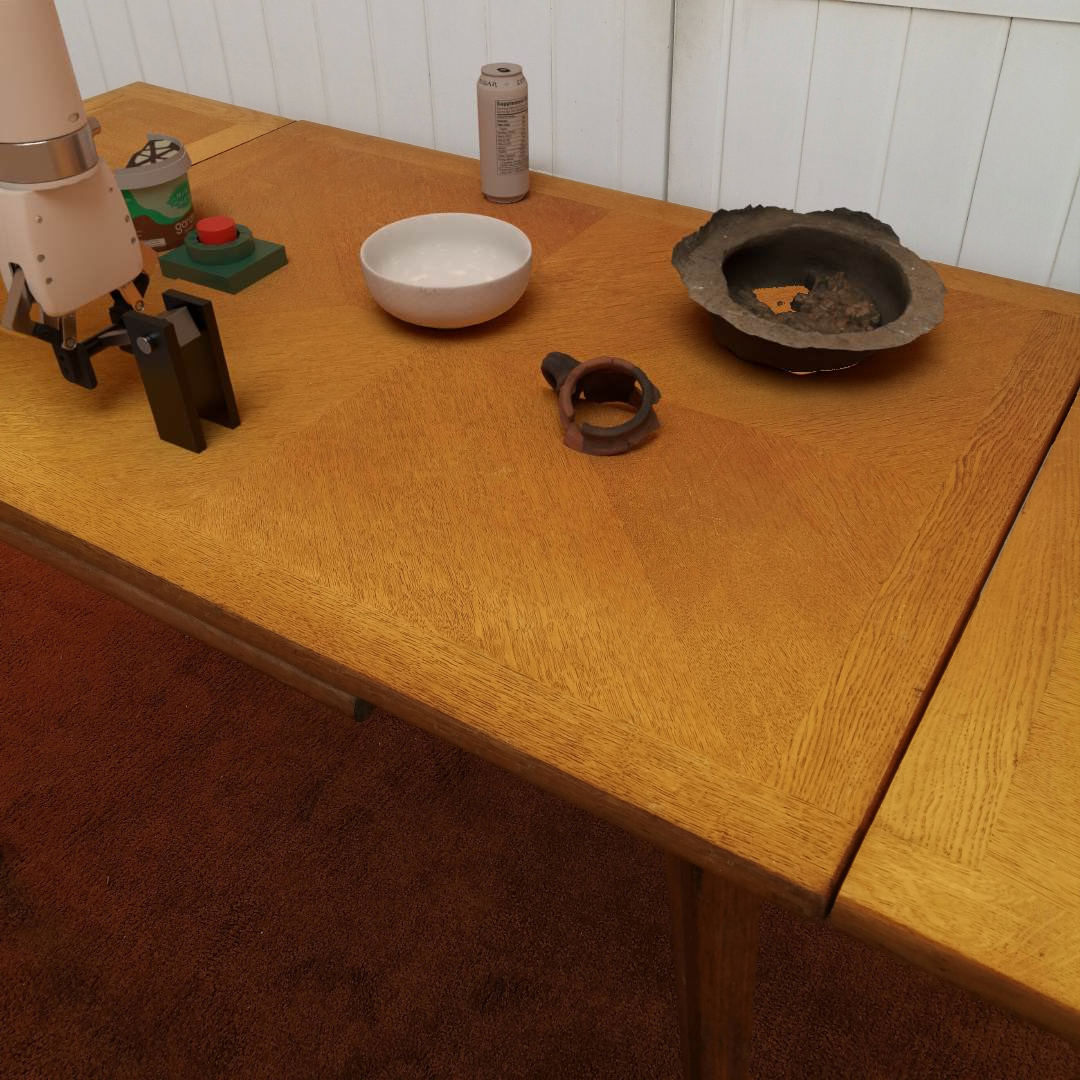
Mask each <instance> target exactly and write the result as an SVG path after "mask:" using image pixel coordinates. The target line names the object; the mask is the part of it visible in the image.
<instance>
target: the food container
mask: <svg viewBox="0 0 1080 1080" xmlns="http://www.w3.org/2000/svg"><path fill="white" fill-rule="evenodd" d="M145 136H146V141H147V142H146V144H145V145H144V146H143V148H141V149H140V150H138V151H137V152H135V153H133V154H132V156H131V157H130V158H129V161H128V162H127V164H126V166H125V167H124V168H112V173H113V176H114V178H115V180H116V182H117V184H118V186H119V188H120V191H121V193H122V195H123V198H124V200H125V203H126V205H127V208H128V210H129V213H130V216H131V219H132V222H133V225H134V228H135V231H136V234H137V238H138V239H139V240H141V241H142V242H143V243H145V244H146V245H148V246H149V247H150V248H152V249H153V250H154V251H156V252H157V253H163V252H169V251H172V250H174V249H176V248H178V247H180V246H182V245H184V244H185V242H184V239H185V237H186V236H187V234H188V233H189V232H191V231H193V230H195V229H197V228H196V224H197V222H196V217H195V216H196V215H195V210H194V204H193V199H192V193H191V192H192V191H191V186H190V180H189V173H188V171H190V169H191V168H192V164H193V162H192V160H191V157H190V155H189V153H188V151H187V149H186V147H185V146H184V145H183V143H182V141H181V140H180V139H179V138H177V137H175V136H172V135H168V134H163V133H153V132H152V133H151V132H149V133H148V132H146V133H145Z"/></svg>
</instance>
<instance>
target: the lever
mask: <svg viewBox="0 0 1080 1080" xmlns="http://www.w3.org/2000/svg"><path fill="white" fill-rule="evenodd" d="M153 317H156V318H159V319H162V320H166V321H169V322H172V323H173V324H174V328H175V332H176V335H177V339H178V343H179V346H180V347H182V346H184V345H185V344H187V343H189V342H190V341H192V340H194V339H195V338H197V337H199V336H200V335H201V334H200V332H199V330H198V328H197V326H196V324H195V322H194V320H193V318H192V316H191V315H190V313H189V311H188V309H187V307H181V308H176V309H171V310H166V309H164V310H163V311H162V312H160V313H158V314H156V315H154V316H153ZM78 343H80V344H83V345H85V347H86V348H87V351H88V354H89V357H90V359H91V358H93V357H95V356H96V355H98V354H100V353H102V352H103V351H105V350H108V349H109V348H114V347H119V346H121V345H127V344H131V342H130V339H129V336H128V333H127V329H126V326H125V323H124V321H121V320H120V321H118V322H116V323H114V324H112V323H111V325H109V326H107V327H105V328H104V329H101V330H100V331H98V332H96V333H95V334H93V335H92V334H91V336H88V337H87V338H84V339H83V340H82V341H79V342H78Z"/></svg>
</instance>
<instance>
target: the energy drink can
mask: <svg viewBox="0 0 1080 1080" xmlns="http://www.w3.org/2000/svg"><path fill="white" fill-rule="evenodd" d="M480 72H481V73H480V75H479V77H478V80H477V82H476V102H477V103H476V104H477V105H476V106H477V124H478V126H477V127H478V144H479V145H478V146H479V169H480V186H481V187H480V189H481V192H483V193H484V195H485V198H486V197H487V198H486V199H487V200H488V201H490V202H492V203H496V202H497V204H511V202H513V203H517V202H519V201H518V200H520V201H522V200H523V199H524V198H525V197H526V193H527V192H528V191H529V190H530V146H529V142H530V140H529V139H530V138H529V83H528V80H527V79H526V77H525V75H524V73H523V66H522V65H520V64H517V63H512V62H492V63H487V64H485V65H483V66H481V68H480ZM524 196H525V197H524ZM523 197H524V198H523ZM522 198H523V199H522ZM521 199H522V200H521ZM516 201H517V202H516Z"/></svg>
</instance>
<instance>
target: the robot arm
mask: <svg viewBox="0 0 1080 1080" xmlns="http://www.w3.org/2000/svg"><path fill="white" fill-rule="evenodd" d="M79 87H80V86H79V84H78V80H77V77H76V74H75V71H74V67H73V63H72V59H71V56H70V53H69V49H68V45H67V41H66V38H65V35H64V32H63V27H62V24H61V21H60V18H59V14H58V10H57V7H56V4H55V0H0V274H1V275H0V276H1V277H2V280H3V284H4V287H5V290H6V292H7V295H8V296H7V298H6V302H5V306H4V309H3V314H2V317H1V319H0V320H1V322H0V325H1V327H2V328H3V329H5V330H8V331H11V332H14V333H17V334H20V335H23V336H28V337H31V338H34V339H35V338H36V339H38V340H40V341H43V342H45V343H48V344H50V345H51V347H52V350H53V354H54V356H55V358H56V361H57V364H58V367H59V370H60V372H61V375H62V377H63V378H64V379H65V380H66V381H68V382H69V383H70V384H74V385H77V386H79V387H82V388H84V389H87V390H90V391H93V390H94V389H96V388H98V385H99V382H98V379H97V375H96V373H95V370H94V366H93V364H92V360H91V358H90V357H89V354H88V351H87V348H86V347H85V345H83V344H80V343H79V342H78V330H77V315H76V314H77V312H76V310H78V309H80V308H82V307H85V306H86V305H88V304H90V303H92V302H94V301H96V300H98V299H100V298H103V297H104V296H107V297H108V299H109V300H110V303H112V306H110V307H108V315H109V318H110V322H111V325H112V324H114V323H116V322H118V321H120V320H121V321H124V320H123V316H122V315H123V314H124V313H126V312H128V311H130V310H134V311H137V312H141V313H144V311H145V309H146V301H145V300H144V298H145V295H146V292H147V291H148V287H149V284H150V281H151V280H150V279H151V278H150V276H152V274H153V272H154V269H155V268H156V265H157V264H158V262H159V260H158V258H159V257H160V256H159V252H156V251H154V250H153V249H152V248H150V247H149V246H148V245H146V244H145V243H143V242H142V241H141V240H139V239H138V238H137V234H136V231H135V228H134V225H133V222H132V219H131V216H130V213H129V210H128V208H127V205H126V203H125V200H124V198H123V195H122V193H121V191H120V188H119V186H118V184H117V182H116V180H115V178H114V173H113V171H112V170H111V168H110V166H109V164H108V163H107V161H106V159H105V157H103V156H102V155H100V154H98V152H97V151H98V150H97V147H96V143H95V139H94V138H95V137H96V136H98V135H99V134H101V133H102V127H101V123H100V121H99V120H98V119H97V118H96V117H95V116H94V115H93V116H92V115H90V116H88V115H87V112H86V108H85V106H84V102H83V99H82V94H81V91H80V89H79ZM36 303H37V304H38V316H39V321H37V320H34V319H31V316H30V315H31V310H32V306H33V305H34V304H36ZM118 347H119V349H120V351H122V352H124V353H128V354H130V355H133V356H134V352H133V349H132V346H131V344H127V345H121V346H118Z"/></svg>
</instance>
